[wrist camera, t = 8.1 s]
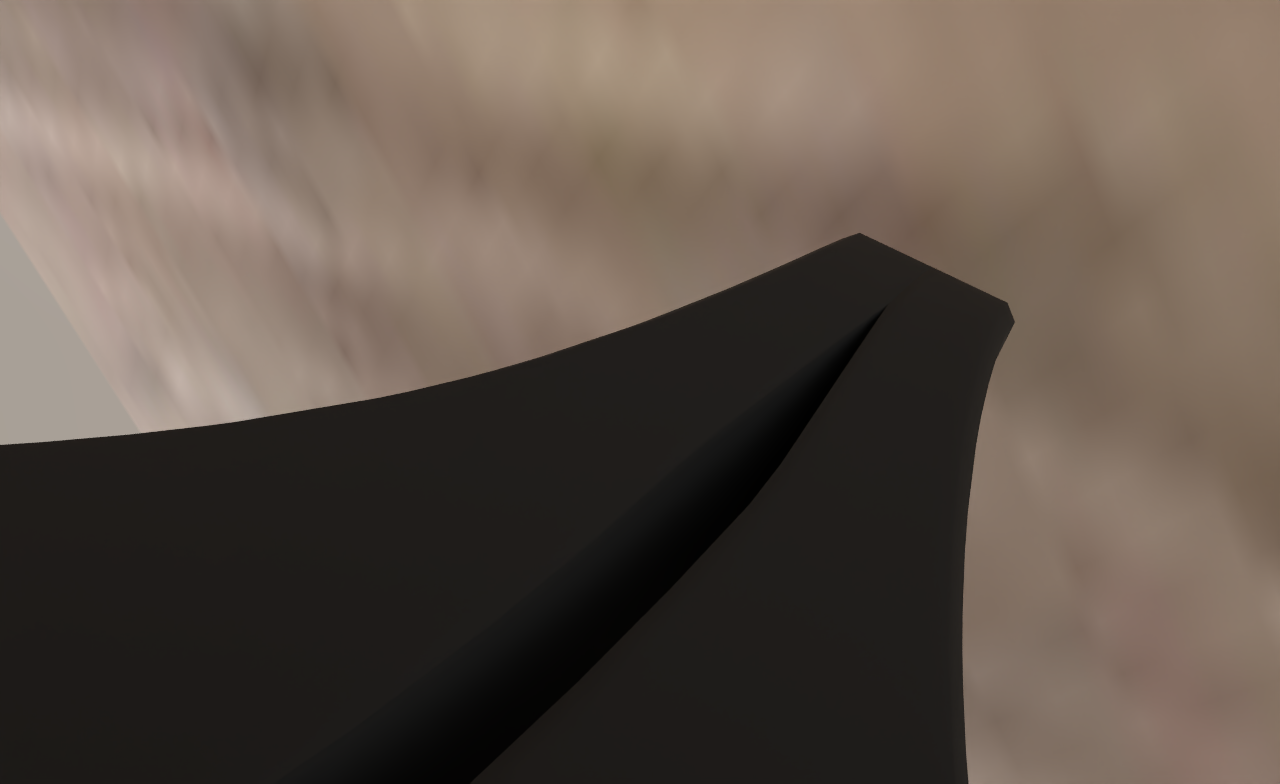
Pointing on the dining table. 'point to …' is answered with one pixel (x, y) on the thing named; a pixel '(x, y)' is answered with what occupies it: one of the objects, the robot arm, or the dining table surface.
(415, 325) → the dining table surface
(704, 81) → the dining table surface
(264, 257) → the dining table surface
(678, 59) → the dining table surface
